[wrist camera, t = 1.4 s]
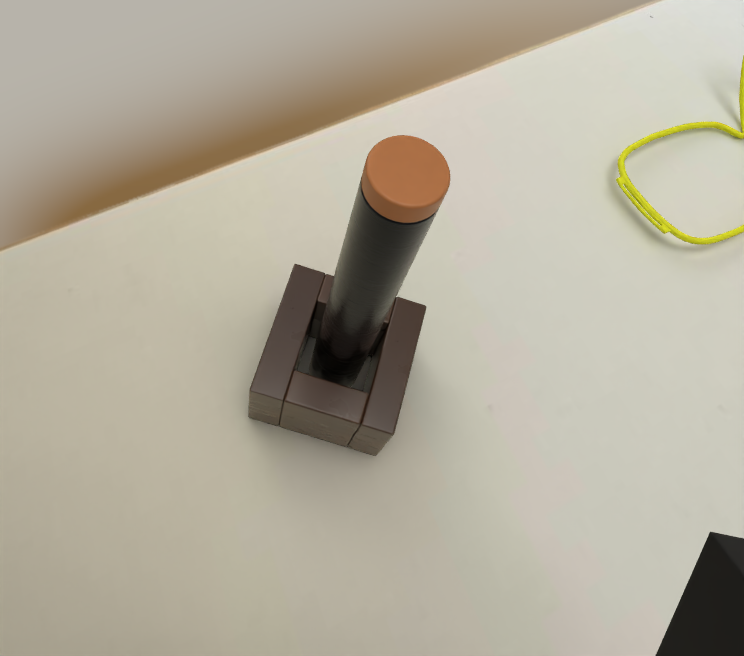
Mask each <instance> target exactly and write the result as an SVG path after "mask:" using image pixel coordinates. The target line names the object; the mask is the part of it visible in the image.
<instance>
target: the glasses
mask: <svg viewBox="0 0 744 656" xmlns="http://www.w3.org/2000/svg"><path fill="white" fill-rule="evenodd" d="M739 103H740V120H741V127H742V131H743V133H742V132H739V131H737V130H735V129H733V128H731V127H730V126H727V125H725V124H722V123H719V122H696V123H689V124H683V125H680V126H676V127H672V128H669V129H666V130H663V131H660V132H656V133H653V134H651V135H649V136H647V137H645V138H643V139H641V140H639V141H637V142H635V143H633V144H632V145H630V146H628V147H627V148H626V149H625V150H624V151H623V152H622V154H621V155H620V157H619V159H618V169H619V174H620V177H619V178H617V179H616V181H617V183H618V185H619V186H620V188H621V189H622V190H623V192H624V193H625V194H626V195H627V197H628V198H629V199H630V200H631V201H632V203H633V204H634V205H635V206H636V207H637V209H638V210H639V211H640V212H641V213H642V214H643V215H644V216H645V217H646V218H647V219H648V220H649V221H650V222H651V223H652V224H653V225H655V226H656V227H657V228H658V229H659V230H660V231H661V232H663V233H664V234H665V233H667V232H670V233H672V234H673V235H674V236H676V237H677V238H679V239H681V240H683V241H686V242H689V243H692V244H711V243H716V242H719V241H722V240H725V239H728V238H730V237H733V236H736V235H738V234H740V233H742V232H744V225H742V226H740V227H738V228H736V229H734V230H731V231H728V232H726V233H723V234H720V235H717V236H714V237H709V238H696V237H691V236H689V235H686V234H684V233H682V232H681V231H679V230H678V229H676V228H675V227H674V226H672V225H671V224H670V223H669V222H667V221H666V220H665V219H664V218H663V217H662V216H661V215H660V214H659V213H658V212H657V211H656V210H655V209H654V208H653V207H652V206H651V205H650V204H649V203H648V202H647V201H646V200H645V198H644V197H643V196H642V195H641V194H640V193H639V191H638V190H637V189H636V188H635V187H634V185H633V184H632V183H631V181H630V179H629V178H628V176H627V173H626V170H625V165H624V161H625V159H626V157H627V156H628V155H629V154H630V153H631V152H632V151H633V150H635V149H637V148H639V147H640V146H642V145H644V144H646V143H648V142H650V141H652V140H655V139H657V138H661V137H664V136H667V135H670V134H673V133H676V132H680V131H684V130H689V129H696V128H717V129H721V130H723V131H725V132H727V133H729V134H731V135H733V136H735V137H737V138H741V139H742V138H744V57H743V62H742V69H741V79H740V94H739ZM623 184H624V185H625V187H626V188H627V190H628V191H629V192H630V193H631V195H632V196H633V197H634V198H635V199H636V200H637V202H638V203H639V204H640V205H641V206H642V207H641V206H640V205H639V204H638V203H637V202H636V200H635V199H634V198H633V197H632V196H631V195H630V194H629V192H628V191H627V190H626V189H625V187H624V186H623ZM643 209H644V210H645V211H646V212H647V213H648V214H649V215H650V216H651V217H652V218H653V219H654V220H655V221H656V222H658V223H659V224H660V225H661V226H660V225H659V224H657V223H656V222H655V221H654V220H653V219H652V218H651V217H650V216H649V215H648V214H647V213H646V212H645V211H644V210H643Z"/></svg>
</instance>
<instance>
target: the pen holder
mask: <svg viewBox="0 0 744 656" xmlns="http://www.w3.org/2000/svg"><path fill="white" fill-rule="evenodd" d="M333 279H334V276H331V275H328V274H326V275H325V273H323V272H319V271H316V270H313V269H310V268H307V267H304V266H301V265H297V264H295V265H294V267H293V270H292V272H291V275H290V278H289V281H288V284H287V286H286V289H285V292H284V295H283V298H282V300H281V303H280V306H279V309H278V312H277V314H276V317H275V320H274V323H273V326H272V328H271V331H270V334H269V337H268V340H267V342H266V345H265V348H264V351H263V354H262V356H261V359H260V362H259V365H258V368H257V371H256V373H255V376H254V379H253V382H252V385H251V387H250V393H249V418H253V419H256V420H259V421H263V422H266V423H269V424H272V425H276V426H278V425H279V426H280V427H283V428H286V429H289V430H293V431H296V432H299V433H303V434H306V435H309V436H312V437H316V438H319V439H322V440H325V441H329V442H332V443H335V444H339V445H342V446H348V447H349V448H352V449H355V450H358V451H361V452H365V453H368V454H371V455H377V454H378V453H379V451H380V450H381V449H382V448H383V447H384V445H385V444H386V443H387V442H388V441H389V439H390V438H391V437H392V436H393V435H394V433H395V429H396V425H397V421H398V417H399V413H400V409H401V405H402V401H403V397H404V394H405V390H406V386H407V382H408V378H409V374H410V370H411V366H412V362H413V358H414V354H415V350H416V346H417V342H418V339H419V335H420V331H421V327H422V323H423V319H424V315H425V311H426V306H425V305H422V304H419V303H415V302H412V301H409V300H406V299H403V298H400V297H396V298H395V300H394V302H393V304H392V306H391V308H390V310H389V312H388V314H387V316H386V318H385V320H384V322H383V325H382V327H381V329H380V331H379V333H378V335H377V337H376V339H375V341H374V343H373V345H372V347H371V349H370V351H369V353H368V354H369V355H373V356H372V360H371V363H370V367H369V370H368V374H367V378H366V381H365V385H364V388H363V391H360V390H357V389H354V388H350V387H347V386H344V385H341V384H338V383H334V382H331V381H328V380H325V379H321V378H318V377H315V376H312V375H309V374H305V373H302V372H299V371H297V368H298V365H299V362H300V359H301V356H302V353H303V350H304V347H305V344H306V341H307V338H308V335H309V336H311V337H315V338H317V337H318V333H319V329H320V326H321V322H322V319H323V315H324V311H325V308H326V304H327V300H328V297H329V293H330V290H331V286H332V282H333Z"/></svg>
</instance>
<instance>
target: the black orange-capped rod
mask: <svg viewBox="0 0 744 656" xmlns="http://www.w3.org/2000/svg"><path fill="white" fill-rule="evenodd" d="M449 185H450V171H449V167H448V164H447V162H446V160H445V158H444V156H443V155H442V154H441V153H440V152H439V151H438V149H436V148H435V147H434V146H433V145H431V144H430V143H428V142H426V141H424V140H422V139H420V138H417V137H413V136H405V135H399V136H392V137H389V138H386V139H384V140H382V141H380V142H379V143H378V144H376V145H375V146H374V147H373V148H372V149H371V151H370V152H369V154H368V156H367V159H366V163H365V166H364V170H363V174H362V177H361V181H360V184H359V188H358V192H357V195H356V199H355V203H354V206H353V210H352V213H351V217H350V221H349V224H348V228H347V232H346V235H345V239H344V242H343V246H342V250H341V253H340V257H339V261H338V264H337V268H336V271H335V275H334V279H333V282H332V286H331V290H330V293H329V297H328V300H327V304H326V308H325V311H324V315H323V319H322V322H321V326H320V329H319V333H318V337H317V340H316V344H315V347H314V351H313V355H312V358H311V362H310V366H309V374H310V375H312V376H315V377H318V378H321V379H325V380H328V381H331V382H334V383H338V384H341V385H344V386H347V387H351V386H352V385H353V384H354V382H355V380H356V378H357V376H358V374H359V372H360V370H361V368H362V366H363V364H364V362H365V360H366V358H367V355H368V353H369V351H370V349H371V347H372V345H373V343H374V341H375V339H376V337H377V335H378V333H379V331H380V329H381V327H382V325H383V322H384V320H385V318H386V316H387V314H388V312H389V310H390V308H391V306H392V304H393V302H394V300H395V298H396V296H397V294H398V292H399V289H400V287H401V285H402V283H403V281H404V279H405V277H406V275H407V273H408V271H409V269H410V267H411V265H412V263H413V261H414V259H415V256H416V254H417V252H418V250H419V248H420V246H421V244H422V242H423V240H424V238H425V236H426V234H427V232H428V230H429V228H430V226H431V223H432V221H433V219H434V217H435V215H436V213H437V211H438V209H439V207H440V205H441V203H442V201H443V199H444V197H445V195H446V193H447V191H448V188H449Z"/></svg>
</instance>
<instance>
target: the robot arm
mask: <svg viewBox="0 0 744 656" xmlns="http://www.w3.org/2000/svg"><path fill="white" fill-rule="evenodd" d="M656 656H744V539H743V538H738V537H733V536H728V535H724V534H719V533H714V532H710V534H709V536H708V538H707V540H706V543H705V545H704V547H703V549H702V552H701V554H700V556H699V559H698V561H697V563H696V565H695V568H694V570H693V572H692V574H691V577H690V579H689V581H688V583H687V586H686V588H685V590H684V593H683V595H682V597H681V599H680V602H679V604H678V606H677V608H676V611H675V613H674V615H673V618H672V620H671V622H670V624H669V627H668V629H667V631H666V633H665V636H664V638H663V640H662V643H661V645H660V647H659V649H658V652H657V654H656Z"/></svg>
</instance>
